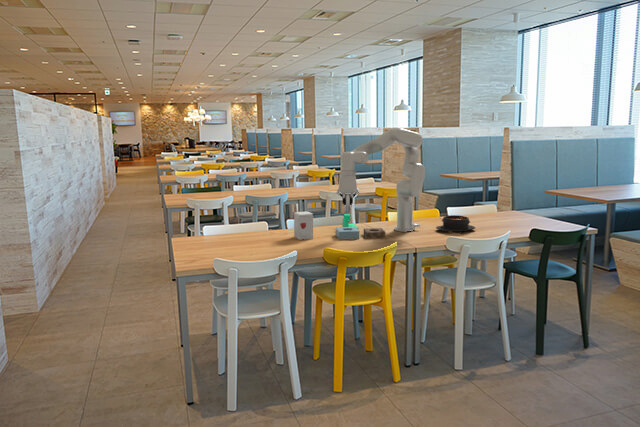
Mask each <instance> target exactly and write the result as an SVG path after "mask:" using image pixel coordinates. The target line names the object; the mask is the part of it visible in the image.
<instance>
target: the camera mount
mask: <svg viewBox="0 0 640 427" xmlns="http://www.w3.org/2000/svg"><path fill="white" fill-rule="evenodd" d="M350 221H351V214H350V213H345V214H343V219H342V224H341V225H342V226H341V227H357V229H358V230H359V227H358V226H357V225H356V224H354V223H349V222H350Z"/></svg>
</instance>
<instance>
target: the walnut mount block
mask: <svg viewBox="0 0 640 427" xmlns="http://www.w3.org/2000/svg"><path fill="white" fill-rule="evenodd" d="M363 235H364V236H365V238H366V239H386V231H385V229H383V228H381V227H373V228H372V227H370V228H367V227H366V228H363Z"/></svg>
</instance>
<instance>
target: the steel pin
mask: <svg viewBox="0 0 640 427" xmlns="http://www.w3.org/2000/svg"><path fill="white" fill-rule="evenodd" d="M350 197H351V194H350V193H345V205H344V213H345V214H350V213H351V205H350Z"/></svg>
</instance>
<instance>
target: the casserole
mask: <svg viewBox="0 0 640 427" xmlns="http://www.w3.org/2000/svg"><path fill="white" fill-rule="evenodd" d="M441 222H442V225H437V226H436V227H435V228H436V230H439V231H442V232H443V231H445V232H449V231H452V232H451V233H464V232H463V231H465V232H468V231H471V230H475V229H476V227H475V226H474V225H470V222H471V220H470V219H469V217H467V216H465V215H457V214H456V215H453V214H451V215H450V214H449V215H445V216H443V218H442V219H441Z"/></svg>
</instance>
